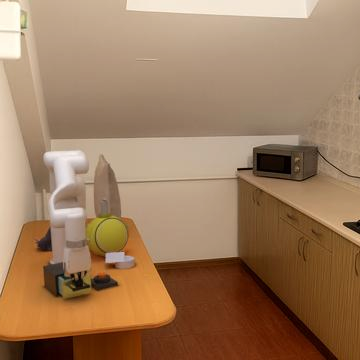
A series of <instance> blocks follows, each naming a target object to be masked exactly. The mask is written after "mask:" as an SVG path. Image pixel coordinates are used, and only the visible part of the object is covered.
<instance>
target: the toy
mask: <svg viewBox="0 0 360 360" xmlns="http://www.w3.org/2000/svg"><path fill="white" fill-rule="evenodd" d="M100 202H101V213H100V214H99V215H98V217H97V218H96V217H95V218H93V219H92V220H91V221H90V222H89V223H87V225H86V226H85V229H86V230H85V232H86V238H87V239H88V238H89V242H87V245H88V248H89V251H91V252H92V253H93V254H95V255H97V256H99V257H105V258H106V253H114V252H122V251H123V249H124V248H125V247H126V246H127V243H128V241H129V235H130V232H129V228H128V226H127V223H125V222H124V221H123V220H122V219H121V220H120V219H119V218H117V217H115V216H112V215H111V214H110V213H108V201H107V199H106V198H104V197H103V198H102V199H100Z"/></svg>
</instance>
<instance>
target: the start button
mask: <svg viewBox="0 0 360 360" xmlns="http://www.w3.org/2000/svg"><path fill="white" fill-rule="evenodd" d="M106 274H107V273H106V272H104V271H103V272H98V273H97V275H98V278H106Z"/></svg>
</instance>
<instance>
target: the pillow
mask: <svg viewBox="0 0 360 360" xmlns="http://www.w3.org/2000/svg"><path fill="white" fill-rule="evenodd" d="M120 195H121V194H120V191H119V186H118V182H117V178H116V174H115V171H114V169H113V168H112V167H111V164H110V163H109V162H108V161H107V159H106V158H105V156H104V155H103V154H99V155H98V162H97V164H96V167H95V170H94V177H93V207H94V214H95V218H97V217H98V215H99V214H100V213H101V202H100V199H102V198H103V197H104V198H106V199H107V201H108V213H110V214H111V215H112V216H115V217H117V218H119V219H120V220H121V221H122V206H121V205H122V203H121V196H120Z"/></svg>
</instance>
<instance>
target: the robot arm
mask: <svg viewBox="0 0 360 360" xmlns="http://www.w3.org/2000/svg"><path fill="white" fill-rule="evenodd" d="M42 158H43V163H44V165H45V167H46V168H47V170H48V173H49V174H48V175H49V193H50V197H49V198H48V202H47V204H46V208H47V209H46V210H47V213H48V218H49V225H50V226H49V228H50V227H51V240H52V258H50V260H49V265H51V264H56V263H61V262H63V270H64V271H65V273H64V276H66V277H72V278H74V285H75V287H80V286H83V278H84V276H85V275H87V274H88V273H90V272H92V258H91V253H90V249H89V247H88V245H87V242H89V238H88V239H87V238H86V232H85V229H86V222H87V220H88V215H87V211H86V207H87V204H86V203H87V201H86V200H87V199H86V197H87V196H86V194H87V193H86V192H87V190H86V182H85V180H84V178H83V177H81V176H77V175H85V174H87V173H88V172H89V170H90V163H89V160H88V156H87V155H86V153H85V152H84V151H83V150H80V149H76V150H75V149H74V150H72V149H71V150H55V151H46V152H45V153H44V154H43V157H42ZM77 272H79V276H78V275H77Z"/></svg>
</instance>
